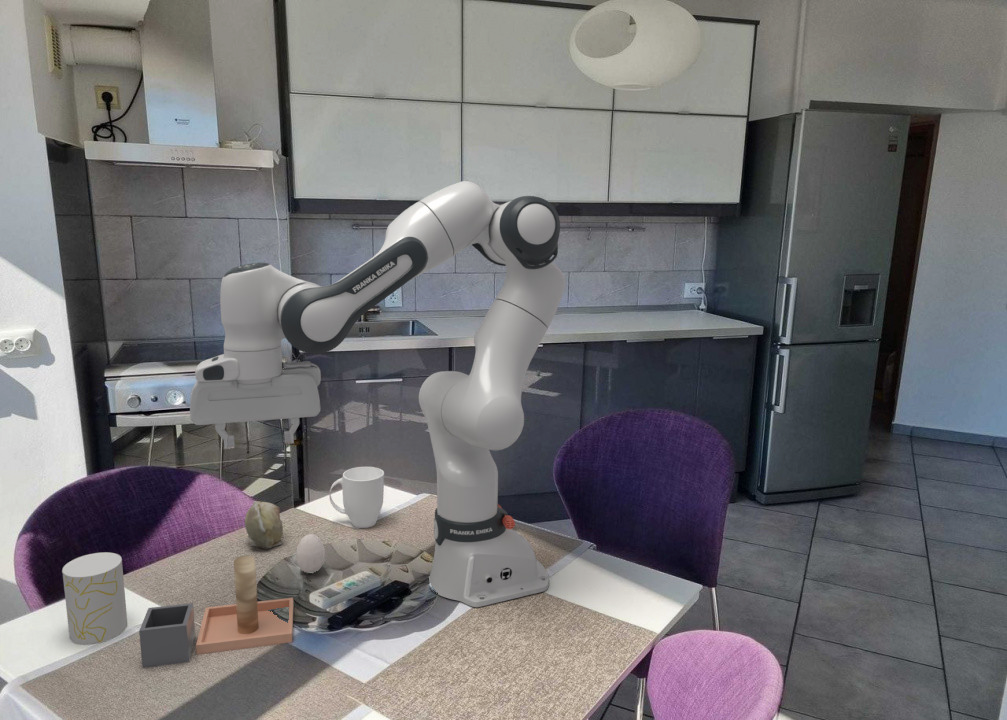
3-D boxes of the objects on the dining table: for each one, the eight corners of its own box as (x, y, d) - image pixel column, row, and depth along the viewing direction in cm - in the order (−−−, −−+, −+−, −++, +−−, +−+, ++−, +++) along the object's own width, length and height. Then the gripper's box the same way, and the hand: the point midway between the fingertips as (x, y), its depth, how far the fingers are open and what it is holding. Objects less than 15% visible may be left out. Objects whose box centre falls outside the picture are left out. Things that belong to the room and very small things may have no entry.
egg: (308, 582, 132) (307, 543, 130) (290, 573, 135) (289, 535, 133) (331, 571, 136) (330, 534, 134) (313, 563, 139) (312, 526, 138)
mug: (385, 514, 162) (385, 465, 159) (383, 532, 154) (382, 480, 151) (333, 515, 161) (332, 465, 158) (327, 533, 152) (326, 481, 150)
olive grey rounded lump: (264, 563, 143) (255, 528, 138) (235, 547, 147) (226, 511, 142) (298, 534, 150) (291, 499, 145) (270, 519, 154) (262, 484, 149)
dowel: (259, 621, 118) (255, 554, 115) (257, 632, 115) (254, 563, 112) (238, 624, 117) (234, 556, 114) (236, 635, 114) (232, 565, 111)
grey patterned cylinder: (62, 651, 110) (54, 579, 107) (78, 622, 117) (71, 555, 115) (121, 644, 112) (114, 573, 109) (132, 616, 119) (126, 550, 117)
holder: (195, 640, 113) (193, 602, 112) (189, 665, 107) (186, 625, 106) (151, 646, 111) (148, 607, 110) (142, 671, 105) (139, 630, 104)
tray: (293, 608, 123) (293, 597, 122) (292, 645, 112) (291, 633, 112) (206, 618, 119) (205, 607, 119) (196, 657, 109) (196, 645, 108)
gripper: (319, 356, 121) (323, 434, 124) (189, 363, 116) (196, 444, 119) (320, 364, 116) (324, 445, 118) (184, 372, 110) (192, 457, 113)
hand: (259, 445), depth 119 cm, fingers open, 8 cm apart
